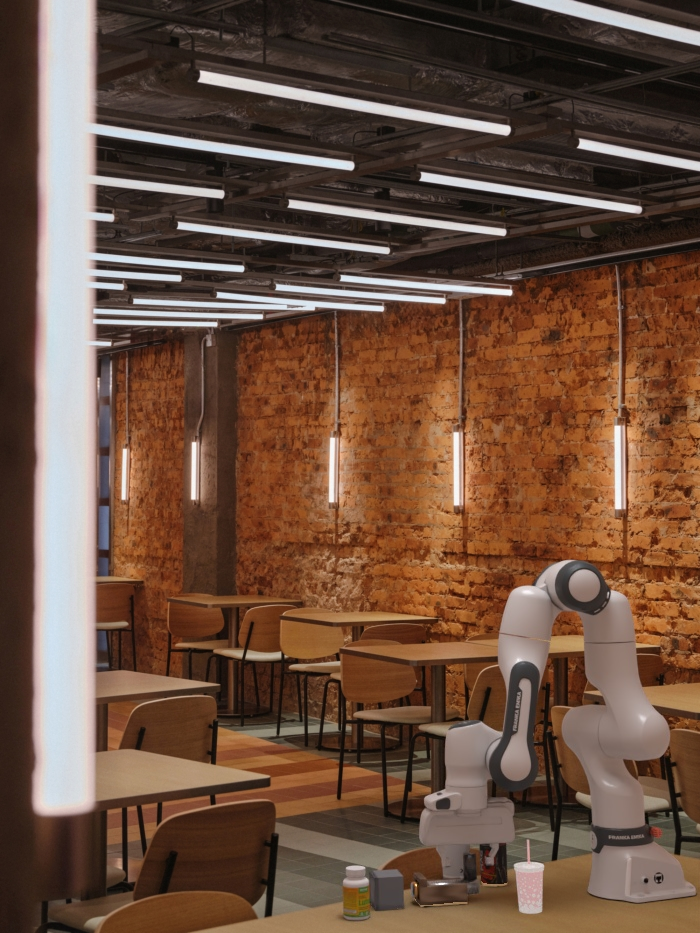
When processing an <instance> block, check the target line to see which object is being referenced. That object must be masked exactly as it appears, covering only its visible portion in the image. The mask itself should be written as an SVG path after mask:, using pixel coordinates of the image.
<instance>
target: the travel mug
mask: <svg viewBox="0 0 700 933" xmlns="http://www.w3.org/2000/svg"><path fill="white" fill-rule="evenodd" d="M442 852H443V854H444V855H445V857H448V858H450V867H442V879H444V878H461V879H464V876H463V853H471V844H467V845H445V850H444V851H442Z"/></svg>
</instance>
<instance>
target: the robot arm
mask: <svg viewBox="0 0 700 933" xmlns="http://www.w3.org/2000/svg"><path fill="white" fill-rule="evenodd" d="M605 580H606V579H605V577H604V575H603V574H602V572H601V571H600V570H599V569H598V567H596V566H595V565H594V564H592V563H590V562H588V561H584V560H577V559H566V560H562V561H559V562H554V563H551V564H549V565H547V566H545V568H544V569H543V570H541V572H540V573H539V575H538V576H537V578H536V579H535V580H534V582H532V584H531V585H521V586H518V587H515V588H514V589H513V590H512V591H511V592H510V593H509V596H508V598H507V601H506V604H505V607H504V610H503V614H502V618H501V623H500V627H499V632H498V633H499V634H498V639H497V640H498V641H497V663H498V664H497V665H498V668H499V669H500V673H501V675H502V677H503V680H504V684H505V689H506V701H505V710H504V718H503V719H504V720H503V725H502V726H503V727H502V732H500V731H498V730H495V729H493V728H491V727H490V726H488V725H487V724H485V723H484V722H483V721H482V720H479V719H469V720H463V721H458V722H456V723H454V724H451V725H450V727H449V728H448V730H447V732H446V735H445V736H446V737H445V744H444V746H445V747H444V764H445V768H446V778H445V783H444V784H445V785H444V789H442V790H439V791H436V792H433V793H432V794H431V793H430V794H428V795H425V797H424V798H423V803H424V804H423V805H424V806H425V808H424V809H423V810H422V811H421V814H420V819H419V820H420V821H419V826H418V828H419V830H418V831H419V832H418V838H419V841H420V843H421V844H422V845H423V846H425V847H435V849H436V852H437V854H438V855H439V857H440V858H441V868H443V867H450V858H448V857H445V855H444V854H443V852H442V851H444V850H445V845H467V844H470V845H479V844H490V847H491V848H492V849H491V851H490V853H489V855H486V856H485V864H486V865H494V856H495V855H496V853H497V851H498V849H499V843H506V844H509V843H510V844H511V843H513V841H514V840H515V839H516V831H515V830H516V829H515V823H514V819H513V817H514V815H515V803H514V802H513V801H512V800H511V799H508V798H507V797H503V796H502V797H488V781H489V780H492V781H493V782H494V783H495V785H497V787H499V788H500V789H502V790H504V791H506V792H510V793H511V792H512V793H516V792H521V791H525V790H527V789H528V788H529V787H531V786H532V785H533V784H534V782H535V781H536V779H537V777H538V774H539V767H540V765H539V763H540V762H539V759H538V754H537V751H536V749H535V743H534V741H535V740H534V733H535V723H536V717H537V716H536V714H537V707H538V706H537V705H538V699H539V691H540V687H541V684H542V679H543V676H544V672H545V669H546V666H547V662H548V658H549V653H550V647H551V641H552V634H553V633H552V632H553V626H554V623H555V621H556V618H557V617H558V616H559V614H561V613H563V612H566V613H567V612H569V613H572V612H575V613H576V614H577V615H578V616H579V619H580V621H581V623H582V628H583V649H584V650H583V652H584V670H585V673H584V674H585V678H586V679H587V681H588V682H589V683H590V685H592V686H593V687H594V688H596V689H597V690H598V692H599V693H600V695H601V696H602V697H603V701H604V703H605V705H603V704H602V705H601V704H586V705H580V706H576V707H575V706H574V707H572V708H569V710H567V712H566V713H565V714H564V717H563V719H562V722H561V735H562V736H561V737H562V739H563V741H564V743H565V745H566V746H567V747H568V748H569V749H570V751H572V752H573V753H574V754H575V757H577V759H578V760H579V763H580V765H581V767H582V768H583V771H584V773H585V776H586V779H587V783H588V786H589V792H590V795H589V796H590V805H591V821H592V822H591V823H590V834H589V836H590V837H589V839H590V846H591V847H590V848H591V850H592V856H591V857H592V859H591V870H590V875H589V882H588V885H587V886H588V887H587V890H586V891H587V892H588V893H589V894H591V896H595V897H599V898H603V899H608V900H619V901H626V902H629V903H638V904H639V903H645V902H646V903H647V902H654V901H661V900H669V899H670V900H671V899H676V898H677V899H678V898H685V897H691V896H693V897H694V896H696V895H697V889H696V887H695V886H694V885H693V884H692V883H691V882H689V881H687V880H686V879H685V874H684V870H683V866H682V865H681V863H680V861H679V860H678V859H677V858H676V857H675V856H673V855H672V854H671V853H670V852H669V851H667V850H666V849H665V848H664V847H662V846H661V845H659V844H658V843H657V842H656V841H654V840H655V838H656V839H660V838H662V836H663V830H662V829H661V828H659V827H656V826H651V825H649V824H647V823H646V818H645V817H646V815H645V798H644V796H645V794H644V788H643V786H642V785H641V784H642V783H640V782H639V780H638V779H636V778H635V777H634V776H632V774H631V773H630V772H629V770H628V769H627V766H626V764H625V762H624V760H628V761H629V760H630V761H637V762H639V761H650V760H656V759H659V758H661V757H662V756H663V755H664V754H665V753H666V751H667V749H668V748H669V746H670V743H671V742H670V740H671V731H670V726H669V724H668V721H667V720H666V719H665V717H664V716H663V715H662V714H661V713H659V711H657V710H656V708H654V706H653V705H652V703H651V702H650V699H648V697H647V694H646V693H645V691H644V688H643V685H642V682H641V679H640V675H639V666H638V656H637V644H636V642H637V641H636V631H635V622H634V617H633V613H632V608H631V604H630V601H629V599H628V598H627V596H626V595H625V594H623V593H621V592H619V591H617V590H613V589H610V587H609V585H608V583H607V582H606V581H605Z"/></svg>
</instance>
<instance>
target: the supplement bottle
mask: <svg viewBox="0 0 700 933" xmlns="http://www.w3.org/2000/svg"><path fill="white" fill-rule="evenodd" d="M366 873H367V871H366V867H365V866H363V865H362V866H361V865H349V866H346V867H345V876H346V877H345V878H344V879H343V881H342V903H343V904H342V909H343V911H342V912H343V918H344V919H345V920H347V921H365V920H367V919H369V918H370V916H371V904H370V888H369V878H367V877H366Z"/></svg>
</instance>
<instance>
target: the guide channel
mask: <svg viewBox="0 0 700 933" xmlns="http://www.w3.org/2000/svg"><path fill="white" fill-rule="evenodd" d="M412 874H413V882H419V898H415V899H416V901H417V902H418V903H419V904H420V905H433V904H444V903H453V902H468V903H469V901H468V897H469V896H468V894H467V884H466V883H461V884H446V885H431V886H427V881H436V880H452V879H461V878H444V879H443V878H431V879H427V878H426V877H425V876H424V874H423V873H421V872H420V871H419V872H412ZM416 901H415V902H416Z"/></svg>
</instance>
